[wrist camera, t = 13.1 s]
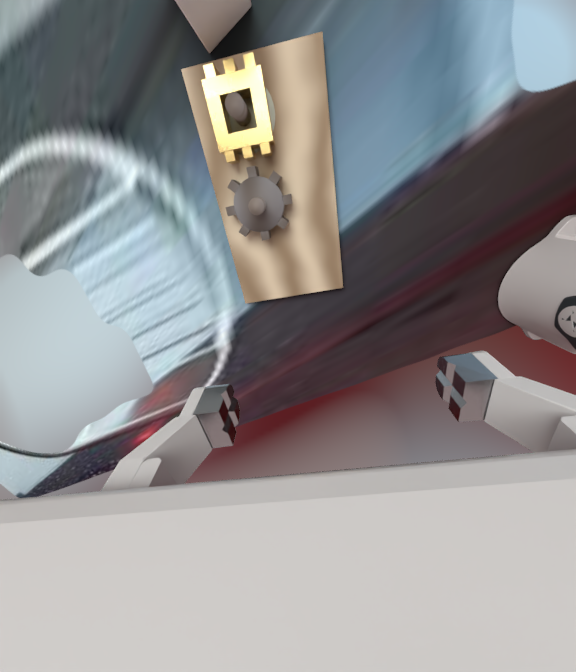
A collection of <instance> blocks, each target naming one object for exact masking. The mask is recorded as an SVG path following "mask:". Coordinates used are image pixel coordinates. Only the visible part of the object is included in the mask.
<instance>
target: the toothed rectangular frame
mask: <svg viewBox="0 0 576 672" xmlns="http://www.w3.org/2000/svg"><path fill="white" fill-rule="evenodd" d="M243 58H244V64H245V69H242V70H238V67H237V65H236V63H235V61H234V59H233V58H230V59H226V60H223V64H224V68H225V73H226V74H223V75H220V73H219V71H218V70H217V68H216V67H215V65H214V64H213V63H211V64H207V65H203V67H204V72H205V76H206V79H204V80H201V81H202V85H203V89H204V93H205V97H206V101H207V105H208V109H209V113H210V117H211V121H212V125H213V129H214V132H215V136H216V140H217V144H218V148H219V152H220V153H221V154H224V155H225V157H226V161H227V163H230V164H236V163H240V160H239V156H238V153H239V152H243V156H244V159H246V160H247V161H250V160H254V159H256V156H255V151H254V149H257V148H261V154H262V155H263V156H264V157H268V156H272V149H271V145H275V141H274V135H273V129H272V123H271V117H270V111H269V105H268V99H267V93H266V87H265V81H264V76H263V72H262V69H261V65H257V63H256V60H255V57H254V54H253V52H252V53H248V54H245V55H243ZM231 92H236V93H238V94H239V95H240V96H241V97H242V99H246V98H250V97H252V101H253V106H254V112H255V117H256V122H257V127H256V128H252V129H248V130H243V131H239V132H235V133H233V132H232V128H231V123H230V119H229V115H228V111H227V110H226V107H225V99H226V97H227V95H228V94H229V93H231Z"/></svg>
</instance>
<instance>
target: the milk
mask: <svg viewBox="0 0 576 672" xmlns="http://www.w3.org/2000/svg"><path fill="white" fill-rule="evenodd" d="M175 1H176V3H177V4H178V6H179V8H180V9H181V11H182V12H183V14H184V15H185V17H186V18H187V20H188V22H189V23H190V25H191V26H192V28H193V29H194V31H195V32H196V34H197V36H198V37H199V39H200V40H201V42H202V43H203V45H204V46H205V48H206V50H207V51H208V53H211V52H212V51H213V49H214V48H215V47H216V46H217V45H218V44H219V43H220V41H221V40H222V39H223V38H224V37H225V36H226V35H227V34H228V32H229V31H230V30H231V29H232V28H233V27H234V26H235V25H236V23H237V22H238V21H239V20H240V19H241V18H242V17H243V15H244V14H245V13H246V12H247V11H248V10H249V9H250V8H251V1H250V0H175Z"/></svg>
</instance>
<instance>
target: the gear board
mask: <svg viewBox="0 0 576 672" xmlns="http://www.w3.org/2000/svg"><path fill="white" fill-rule="evenodd" d="M252 52H253V54H254V57H255V60H256V63H257V65H261V69H262V72H263V76H264V81H265V87H266V93H267V99H268V105H269V111H270V117H271V123H272V129H273V135H274V141H275V145H271V149H272V156H268V157H264V156H263V155H262V154H261V148H257V149H254V151H255V156H256V159H254V160H250V161H247V160H246V159H244V156H243V152H239V153H238V156H239V160H240V163H236V164H230V163H227V161H226V157H225V155H224V154H221V153H220V152H219V148H218V144H217V140H216V136H215V132H214V129H213V125H212V121H211V117H210V113H209V109H208V105H207V101H206V97H205V93H204V89H203V85H202V81H201V80H204V79H206V76H205V72H204V67H203V65H207V64H211V63H213V64H214V65H215V67H216V68H217V70H218V71H219V73H220V75H223V74H226V73H225V68H224V64H223V60H226V59H230V58H233V59H234V61H235V63H236V65H237V67H238V70H242V69H245V64H244V58H243V55H245V54H248V53H252ZM181 71H182V74H183V78H184V82H185V85H186V89H187V92H188V96H189V100H190V103H191V107H192V111H193V114H194V118H195V121H196V125H197V129H198V132H199V136H200V140H201V143H202V147H203V150H204V154H205V158H206V161H207V165H208V169H209V172H210V176H211V179H212V183H213V187H214V190H215V194H216V198H217V201H218V205H219V208H220V212H221V216H222V219H223V223H224V227H225V230H226V234H227V237H228V241H229V245H230V248H231V252H232V256H233V259H234V263H235V266H236V270H237V274H238V277H239V281H240V285H241V288H242V292H243V296H244V299H245V303H252V302H258V301H264V300H270V299H276V298H283V297H289V296H295V295H301V294H307V293H314V292H320V291H326V290H332V289H338V288H343V280H342V267H341V255H340V243H339V230H338V218H337V206H336V194H335V181H334V169H333V157H332V145H331V132H330V120H329V108H328V95H327V83H326V71H325V59H324V46H323V34H322V32H319V33H315V34H311V35H307V36H304V37H300V38H296V39H292V40H289V41H285V42H281V43H278V44H274V45H270V46H266V47H263V48H259V49H255V50H251V51H248V52H244V53H240V54H236V55H233V56H229V57H225V58H221V59H218V60H214V61H210V62H207V63H203V64H199V65H195V66H192V67H188V68H184V69H181ZM225 107H226V110H227V111H228V115H229V119H230V123H231V128H232V132H233V133H235V132H239V131H243V130H248V129H252V128H256V127H257V122H256V117H255V112H254V106H253V101H252V97H250V98H246V99H242V97H241V96H240V95H239V94H238V93H236V92H231V93H229V94H228V95H227V97H226V99H225Z"/></svg>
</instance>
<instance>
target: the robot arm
mask: <svg viewBox="0 0 576 672" xmlns="http://www.w3.org/2000/svg"><path fill="white" fill-rule="evenodd" d="M498 305H499V309H500V311H501V313H502V315H503V316H504V317H505V318H506V319H507V320H508V321H510V322H511V323H513V324H515V325H518V326H519V327H521V328H522V330H523V332H524V333H525V335H526V336H527V337H529V338H531V339H533V340H539V339H544V340H546V341H548V342H550V343H552V344H554V345H556V346H558V347H561V348H563V349H565V350H567V351H569V352H571V353H573V354H576V215H570V216H567V217H565V218H564V219H562V220H561V221H560V222H559V223H558V224H557V225H556V226H555V227H554V229H553V230H552V231H551V232H550V233H549V234H548V236H547V237H546V238H544V239H543V240H542V241H540V242H539V243H538V244H536V245H535V246H533V247H532V248H530V249H529V250H528V251H526V252H525V253H524V254H523V255H522V256H521V257H520V258H519V259H518V260H517V261H516V262H515V263H514V264H513V265H512V267H511V268H510V269H509V271H508V272H507V274H506V275H505V277H504V279H503V281H502V283H501V286H500V289H499V294H498ZM437 366H438V368H439V369H440V370H441V371H440V372H439V373H438V374H437V375H436V387H437V391H438V393H439V395H440V397H441V398H442V400H444V401H446V402H448V403H449V410H450V411H451V412H452V414H453V415H454V417H455V418H456V419H457V421H458V422H468V421H480V420H484V422H486V423H488V424H489V425H491V426H493V427H494V428H496V429H497V430H499V431H500V432H502V433H504V434H505V435H507V436H509V437H510V438H512V439H513V440H515V441H517V442H518V443H520V444H521V445H523V446H524V447H526V448H528V449H529V450H531V451H532V452H534V453H524V454H513V455H502V456H491V457H480V458H468V459H457V460H446V461H434V462H423V463H412V464H401V465H390V466H379V467H367V468H356V469H344V470H333V471H322V472H311V473H300V474H290V475H277V476H266V477H255V478H245V479H233V480H221V481H211V482H199V483H188V484H184V483H185V482H186V481H187V480H188V479H189V477H190V476H191V475H192V474H193V472H194V471H195V470H196V469H197V467H198V466H199V465H200V464H201V463H202V461H203V460H204V459H205V458H206V457H207V455H208V454H209V453H210V452H211V451H212V448H219V447H226V446H233V444H234V439H235V435H236V430H235V426H236V425H237V424H238V423H239V419H240V408H239V403H238V400H237V399H235V398H234V397H233V395H234V390H233V387H232V385H230V384H227V385H217V386H208V387H200V388H195V389H193V391H192V393H191V395H190V396H189V398H188V400H187V402H186V404H185V406H184V408H183V410H182V412H181V414H180V416H179V417H175V418H174V419H173V420H171V421H170V422H169V423H168V424H166V425H165V426H164V427H162V428H161V429H160V430H159V431H157V432H156V433H155V434H154V435H152V436H151V437H150V438H148V439H147V440H146V441H145V442H143V443H142V444H141V445H139V446H138V447H137V448H136V449H134V450H133V451H132V452H131V453H129V454H128V455H127V456H125V457H124V458H123V459H122V460H120V462H119V463H118V465H117V466H116V468H115V469H114V471H113V473H112V474H111V476H110V477H109V479H108V480H107V482H106V483H105V485H104V486H103V488H102V490H101V491H98V492H87V493H76V494H65V495H54V496H42V497H31V498H19V499H5V500H0V672H576V395H573V394H570V393H567V392H564V391H562V390H559V389H556V388H553V387H550V386H547V385H545V384H541V383H539V382H536V381H533V380H530V379H527V378H524V377H516V376H515V375H513V374H512V373H511V372H510V371H509V370H507V369H506V368H505V367H504V366H503V365H502V364H500V363H499V362H498V361H497V360H496V359H494V358H493V357H492V356H491V355H490V354H488V353H487V352H486V351H476V352H470V353H467V354H459V355H451V356H444V357H440V358H439V359H438V363H437Z"/></svg>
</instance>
